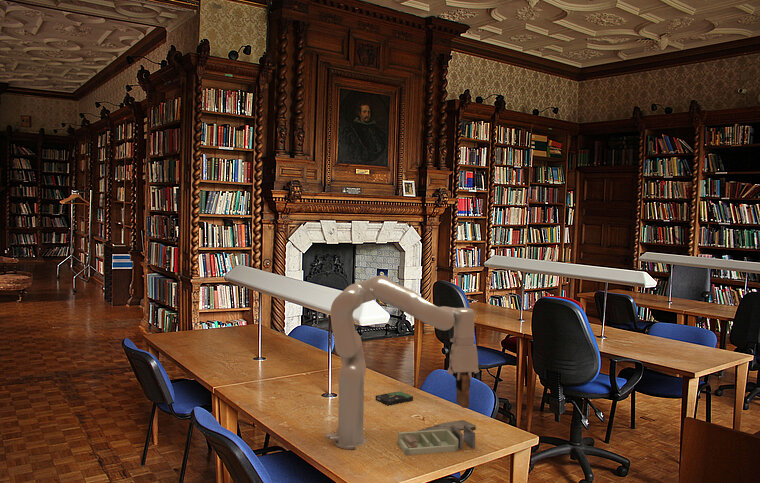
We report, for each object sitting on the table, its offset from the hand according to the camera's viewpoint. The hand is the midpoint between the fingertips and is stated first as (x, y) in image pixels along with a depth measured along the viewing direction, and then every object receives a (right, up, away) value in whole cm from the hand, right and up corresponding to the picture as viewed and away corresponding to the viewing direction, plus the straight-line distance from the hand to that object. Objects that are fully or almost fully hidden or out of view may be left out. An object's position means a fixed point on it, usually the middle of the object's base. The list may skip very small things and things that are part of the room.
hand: (462, 389), depth 226 cm
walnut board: (0, -6, 0) cm, 6 cm away
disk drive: (-25, -20, +56) cm, 64 cm away
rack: (-13, -22, -2) cm, 26 cm away
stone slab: (-6, -22, +17) cm, 29 cm away
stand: (0, -23, +1) cm, 23 cm away
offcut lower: (-20, -21, -4) cm, 29 cm away
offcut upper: (-20, -19, -4) cm, 28 cm away
